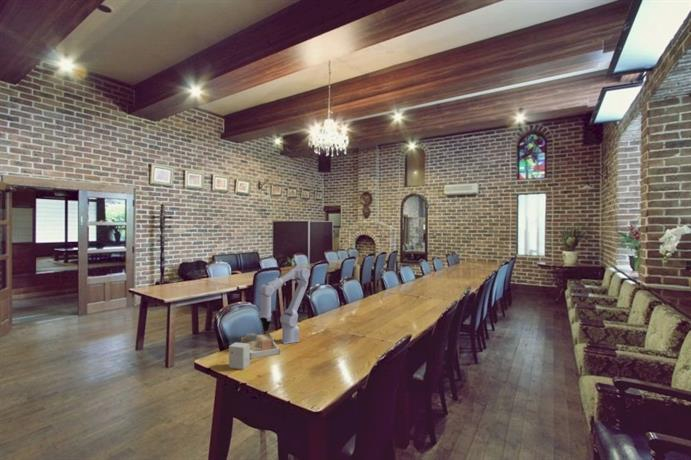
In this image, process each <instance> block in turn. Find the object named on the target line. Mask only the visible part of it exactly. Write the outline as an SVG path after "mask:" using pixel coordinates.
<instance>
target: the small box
mask: <svg viewBox="0 0 691 460" xmlns="http://www.w3.org/2000/svg"><path fill="white" fill-rule="evenodd" d="M250 361H251V359H250V347H249V344H247V343H241V342H234V343H232V344H230V345H228V367H229V368H231V369H236V370H237V369H238V370H244V369H246V368H248V367H249V366H250V364H251V362H250Z"/></svg>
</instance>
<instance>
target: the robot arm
mask: <svg viewBox="0 0 691 460" xmlns="http://www.w3.org/2000/svg"><path fill="white" fill-rule="evenodd" d="M310 276H311V273H310V270H309V269H308V268H307V267H306V268H305V267H298V266H295V267H294V268H291V269H290V271H288V272H287V273H285V274H284V275H283V276H281V277H274V278H273V279H272V280H271V281H268V282H267V283H266V284H262V285H260V287H259V289H258V294H259V295H260V314H258V317H259V320H260V322H261V325H262V330H263V332H269V329H270V324H271V322H272V295H273V294H274V292H275V291H276V290H278V289H280V288H282V287H283V284H284V283H286V282H287V281H290V280H292V279H293V278H294V279H295V280H296V282H297V286H296V288H295V291H294V294H293V297H292V298H291V301H290V303H289V305H288V308H287V309H285V310H284V311H283V312H282V314H281V316H280V317H279V321H280V323H281V326H282V328H281V329H282V333H281V334H282V337H281V338H280V340H279V341H281V343H282V344H283V345H287V344H294V343H299V342H300V328H299V325H298V318H299V314H298V310H299V307H300V305H301V302H302V300H303V298H304V295H305V292H306V290H307V288H308V286H309V278H310Z"/></svg>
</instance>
